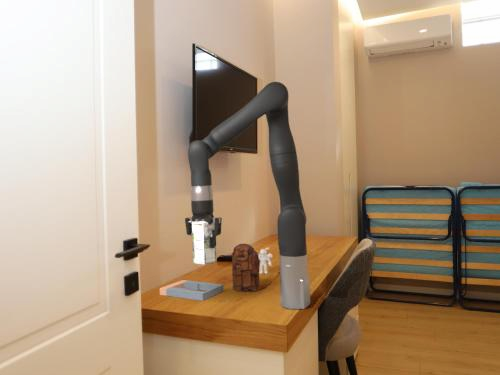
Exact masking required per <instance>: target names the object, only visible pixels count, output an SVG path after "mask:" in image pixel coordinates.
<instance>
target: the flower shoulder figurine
mask: <svg viewBox="0 0 500 375" xmlns="http://www.w3.org/2000/svg"><path fill="white" fill-rule="evenodd" d="M267 250H269V247H265V248H261V249H260V251H259V253H258V257H259V273H260V274H259V275H261V274H264V273H265V274H264V275H267V273H268V274H269V271H268V266H269V267H272V266H273V265H272V261H271V259H273V256H274V255H273V254H272V253H270V252H269V253H268V252H267Z"/></svg>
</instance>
